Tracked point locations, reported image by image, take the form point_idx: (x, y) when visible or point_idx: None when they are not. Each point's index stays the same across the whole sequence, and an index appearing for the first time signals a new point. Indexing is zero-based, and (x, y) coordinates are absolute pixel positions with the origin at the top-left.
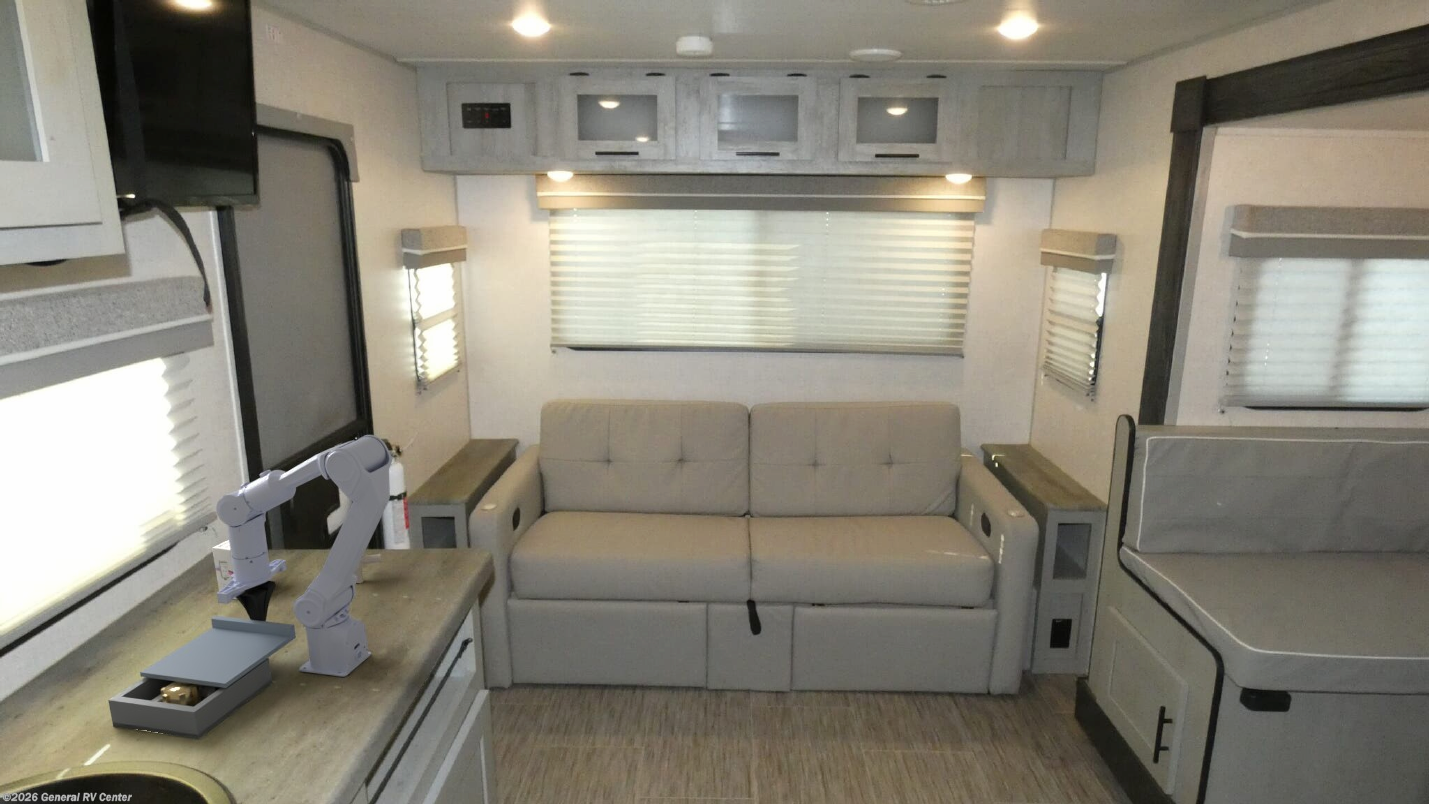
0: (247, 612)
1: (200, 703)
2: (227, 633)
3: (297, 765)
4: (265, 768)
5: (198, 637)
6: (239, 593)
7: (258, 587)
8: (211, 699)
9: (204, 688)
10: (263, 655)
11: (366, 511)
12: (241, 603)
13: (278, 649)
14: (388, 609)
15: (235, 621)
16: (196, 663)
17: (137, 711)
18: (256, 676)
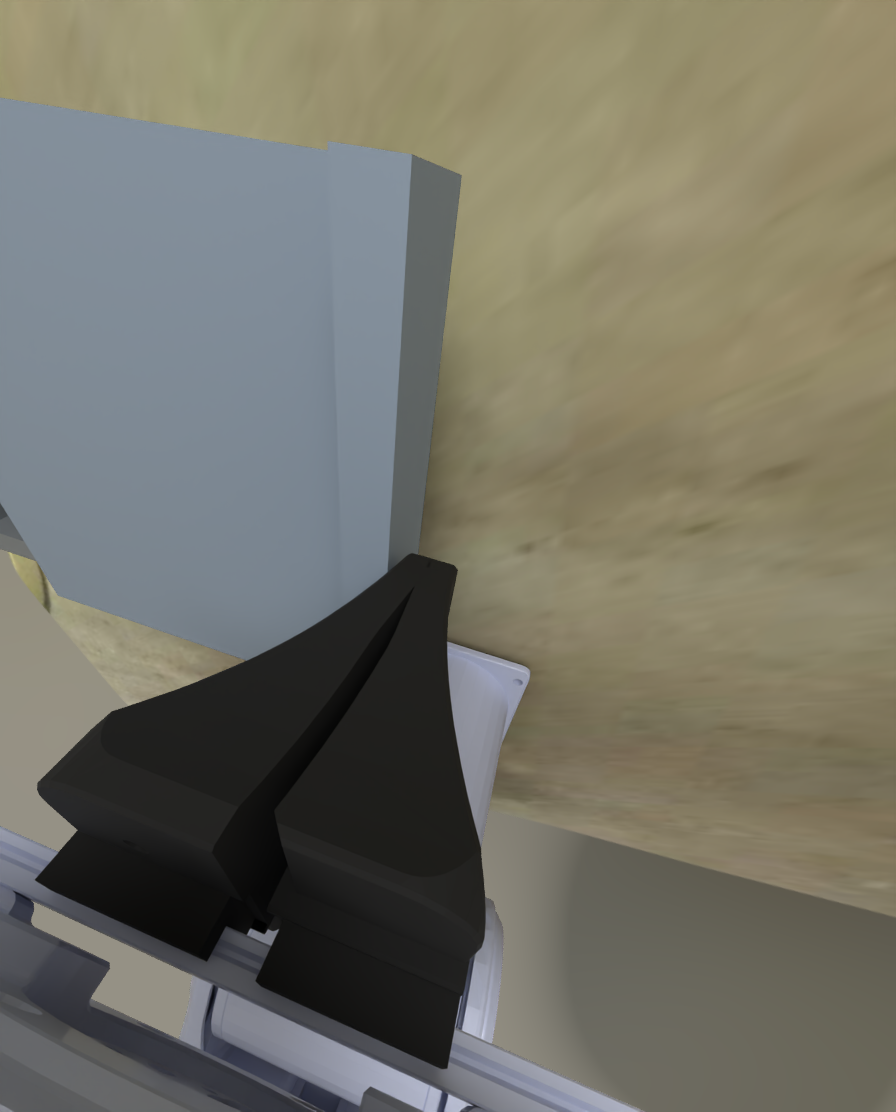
0: (356, 599)
1: (2, 538)
2: (325, 400)
3: (143, 678)
4: (110, 642)
5: (200, 153)
6: (18, 860)
7: (264, 931)
8: (33, 559)
9: None
10: (225, 651)
11: None
12: (266, 654)
13: None
14: (851, 791)
15: (341, 477)
16: (36, 414)
17: None
18: None
